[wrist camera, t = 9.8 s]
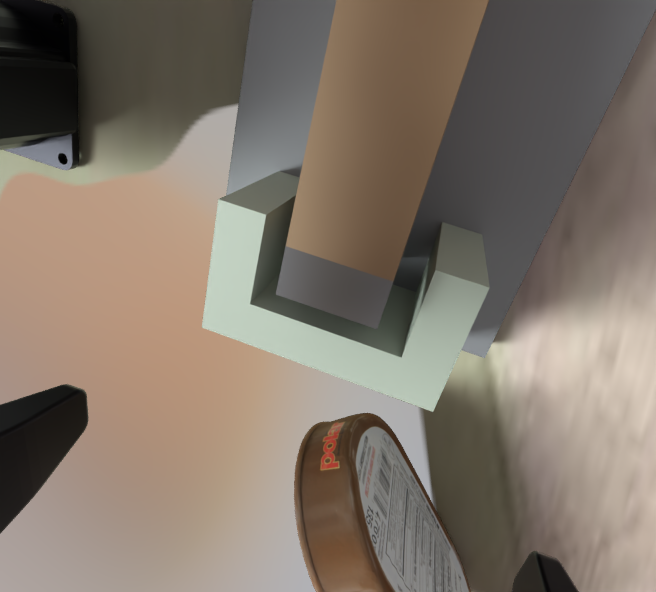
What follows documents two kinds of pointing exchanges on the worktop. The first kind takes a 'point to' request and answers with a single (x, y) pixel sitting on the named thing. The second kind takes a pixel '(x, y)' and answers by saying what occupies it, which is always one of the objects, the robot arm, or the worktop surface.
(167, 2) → the worktop surface
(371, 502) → the tin
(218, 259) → the post frame
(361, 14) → the rail
